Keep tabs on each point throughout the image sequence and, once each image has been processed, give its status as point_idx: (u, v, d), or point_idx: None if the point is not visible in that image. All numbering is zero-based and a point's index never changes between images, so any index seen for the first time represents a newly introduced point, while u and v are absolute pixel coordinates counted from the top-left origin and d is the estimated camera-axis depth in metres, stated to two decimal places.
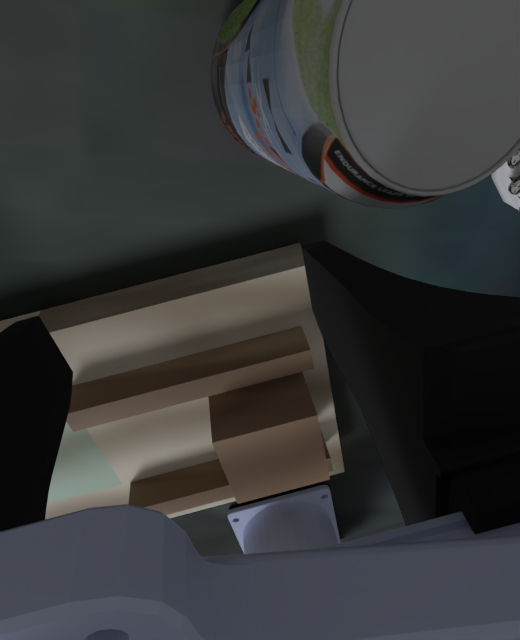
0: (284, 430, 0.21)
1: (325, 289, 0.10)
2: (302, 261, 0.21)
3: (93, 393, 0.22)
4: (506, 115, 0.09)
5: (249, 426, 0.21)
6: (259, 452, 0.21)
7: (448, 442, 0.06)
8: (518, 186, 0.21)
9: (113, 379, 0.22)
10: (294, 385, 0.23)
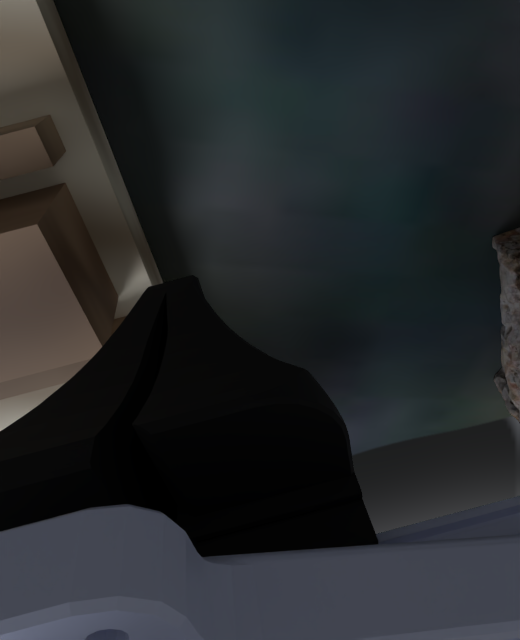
0: None
1: None
2: None
3: None
4: None
5: None
6: None
7: (190, 510, 0.06)
8: None
9: None
10: (36, 203, 0.15)
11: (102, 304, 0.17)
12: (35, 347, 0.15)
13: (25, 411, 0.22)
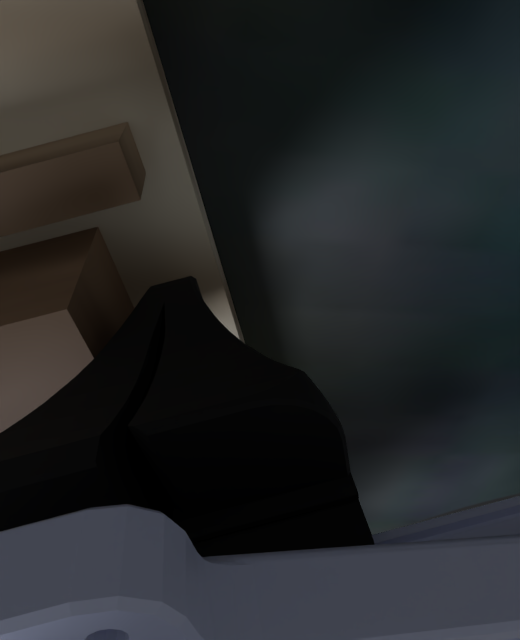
0: None
1: None
2: None
3: None
4: None
5: None
6: None
7: (187, 511, 0.06)
8: None
9: None
10: (59, 263, 0.10)
11: None
12: None
13: None
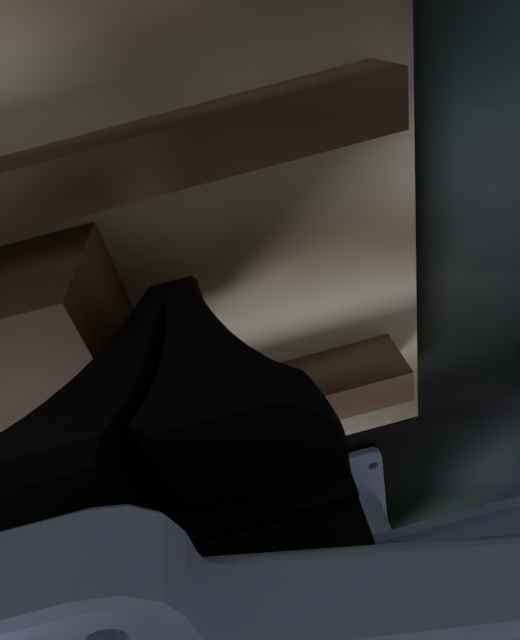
0: None
1: None
2: None
3: None
4: None
5: None
6: None
7: (187, 511, 0.06)
8: None
9: None
10: (56, 258, 0.10)
11: None
12: None
13: None
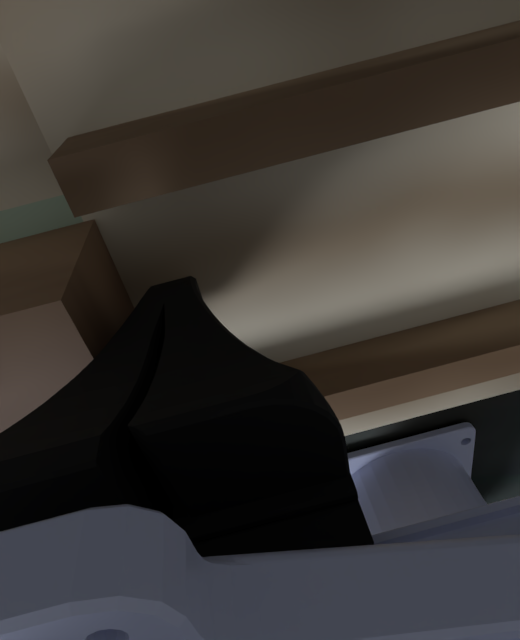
0: None
1: None
2: None
3: (120, 132, 0.10)
4: None
5: None
6: None
7: (186, 511, 0.06)
8: None
9: (163, 115, 0.10)
10: (55, 255, 0.10)
11: None
12: None
13: None
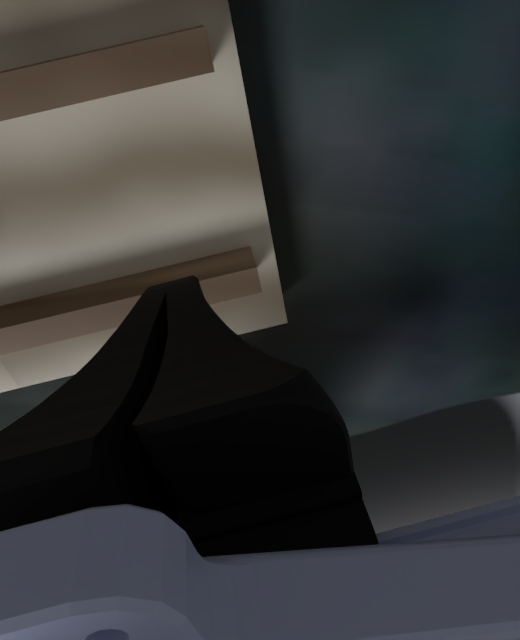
0: None
1: None
2: None
3: None
4: None
5: None
6: None
7: (190, 510, 0.06)
8: None
9: None
10: None
11: None
12: None
13: None
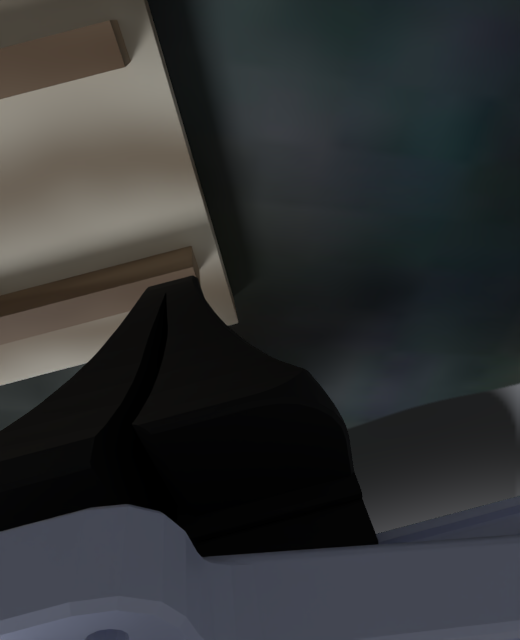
0: None
1: None
2: None
3: None
4: None
5: None
6: None
7: (190, 510, 0.06)
8: None
9: None
10: None
11: None
12: None
13: (70, 352, 0.21)
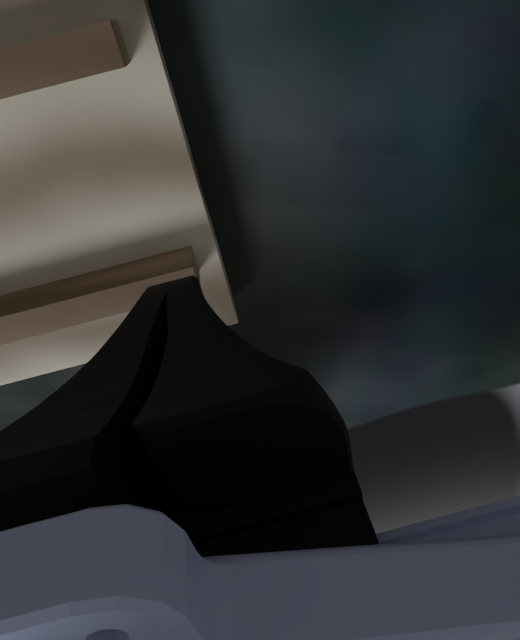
0: None
1: None
2: None
3: None
4: None
5: None
6: None
7: (190, 510, 0.06)
8: None
9: None
10: None
11: None
12: None
13: (70, 352, 0.21)
